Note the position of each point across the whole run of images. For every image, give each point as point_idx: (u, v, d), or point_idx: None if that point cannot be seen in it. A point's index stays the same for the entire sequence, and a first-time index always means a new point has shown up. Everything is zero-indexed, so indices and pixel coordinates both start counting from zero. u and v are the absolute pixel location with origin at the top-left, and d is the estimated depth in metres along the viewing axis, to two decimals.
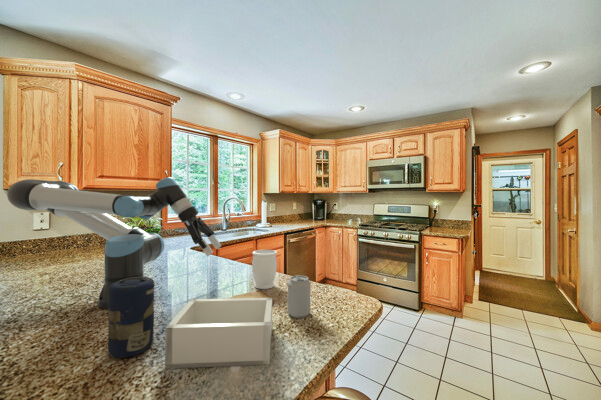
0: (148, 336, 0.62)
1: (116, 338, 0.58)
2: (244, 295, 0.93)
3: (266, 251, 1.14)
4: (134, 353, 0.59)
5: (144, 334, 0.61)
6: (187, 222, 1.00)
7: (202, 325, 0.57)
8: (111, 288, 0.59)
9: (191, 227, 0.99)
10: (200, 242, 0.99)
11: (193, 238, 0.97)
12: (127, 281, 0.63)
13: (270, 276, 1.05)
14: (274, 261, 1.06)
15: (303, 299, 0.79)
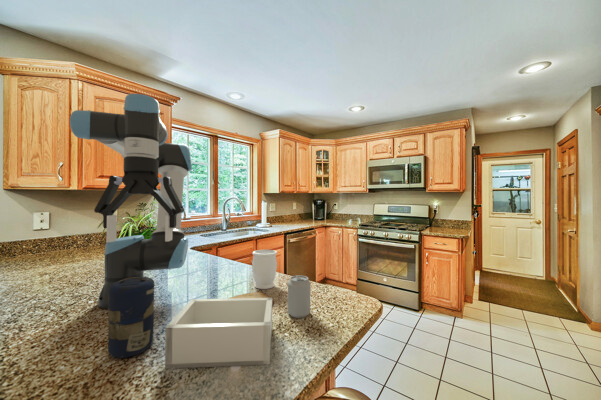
0: (148, 336, 0.62)
1: (116, 338, 0.58)
2: (244, 295, 0.93)
3: (266, 251, 1.14)
4: (134, 353, 0.59)
5: (144, 334, 0.61)
6: None
7: (202, 325, 0.57)
8: (111, 288, 0.59)
9: None
10: None
11: None
12: (127, 281, 0.63)
13: (270, 276, 1.05)
14: (274, 261, 1.06)
15: (303, 299, 0.79)
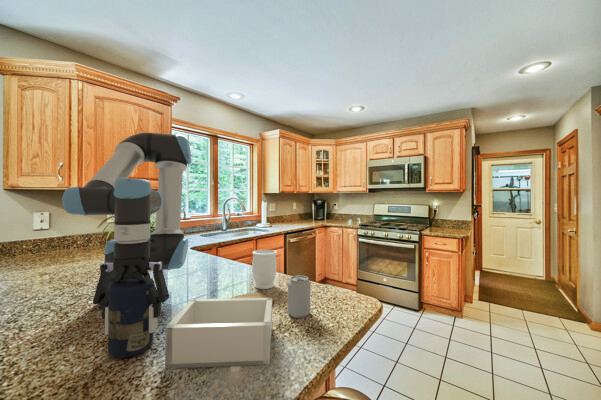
0: (148, 336, 0.62)
1: (116, 338, 0.58)
2: (244, 296, 0.93)
3: (266, 251, 1.14)
4: (134, 353, 0.59)
5: (144, 334, 0.61)
6: None
7: (202, 325, 0.57)
8: (111, 288, 0.59)
9: None
10: None
11: None
12: (127, 281, 0.63)
13: (270, 276, 1.05)
14: (274, 261, 1.06)
15: (303, 299, 0.79)
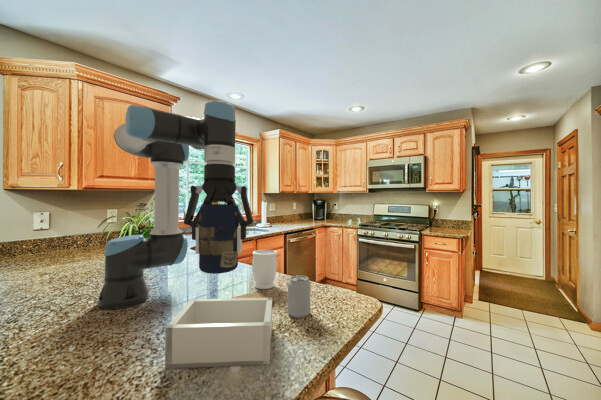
0: (236, 257, 0.63)
1: (210, 254, 0.59)
2: (244, 296, 0.92)
3: (266, 251, 1.14)
4: (226, 270, 0.60)
5: (233, 254, 0.62)
6: None
7: (202, 325, 0.57)
8: (204, 206, 0.60)
9: None
10: None
11: None
12: None
13: (270, 276, 1.05)
14: (274, 261, 1.06)
15: (303, 299, 0.79)
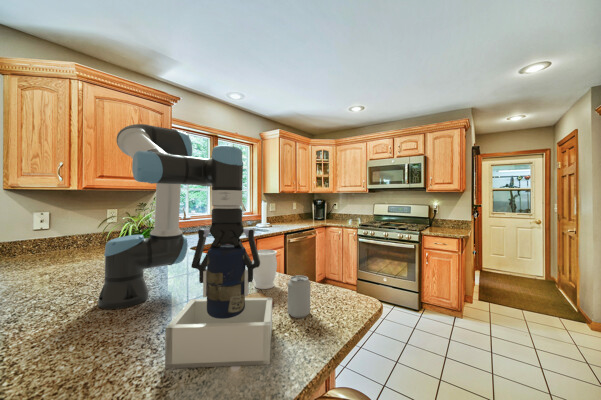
0: (243, 300, 0.63)
1: (218, 299, 0.60)
2: None
3: (266, 251, 1.14)
4: (234, 315, 0.61)
5: (241, 297, 0.62)
6: None
7: (202, 325, 0.57)
8: (212, 251, 0.61)
9: None
10: None
11: None
12: (222, 246, 0.64)
13: (270, 276, 1.05)
14: (274, 261, 1.06)
15: (303, 299, 0.79)
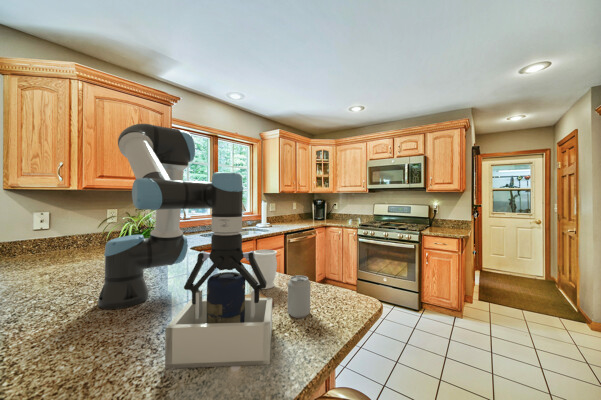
0: None
1: None
2: None
3: (266, 251, 1.14)
4: None
5: None
6: None
7: (202, 325, 0.57)
8: (212, 282, 0.61)
9: None
10: None
11: None
12: (221, 276, 0.64)
13: (270, 276, 1.05)
14: (274, 261, 1.06)
15: (303, 299, 0.79)
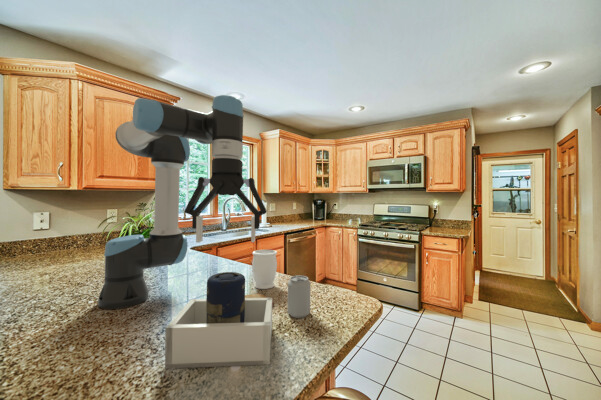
0: None
1: None
2: None
3: (266, 251, 1.14)
4: None
5: None
6: None
7: (202, 325, 0.57)
8: (211, 282, 0.61)
9: None
10: None
11: None
12: (221, 276, 0.64)
13: (270, 276, 1.05)
14: (274, 261, 1.06)
15: (303, 299, 0.79)
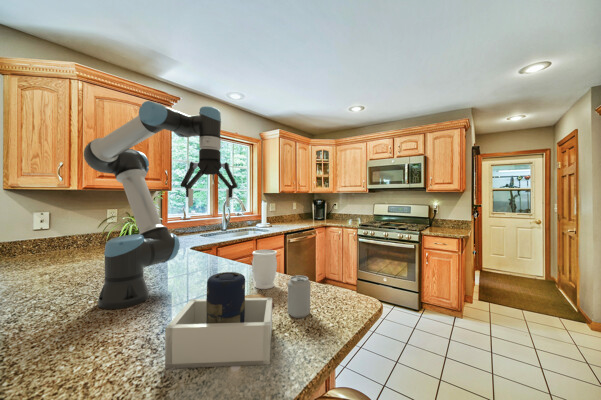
0: None
1: None
2: None
3: (266, 251, 1.14)
4: None
5: None
6: None
7: (202, 325, 0.57)
8: (211, 282, 0.61)
9: None
10: None
11: None
12: (221, 276, 0.64)
13: (270, 276, 1.05)
14: (274, 261, 1.06)
15: (303, 299, 0.79)
